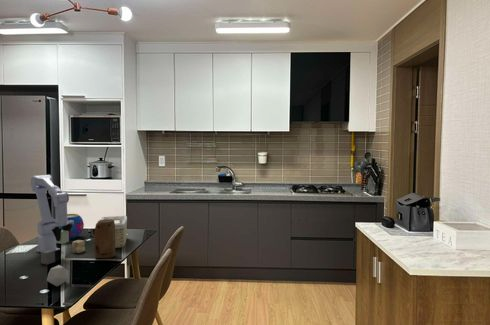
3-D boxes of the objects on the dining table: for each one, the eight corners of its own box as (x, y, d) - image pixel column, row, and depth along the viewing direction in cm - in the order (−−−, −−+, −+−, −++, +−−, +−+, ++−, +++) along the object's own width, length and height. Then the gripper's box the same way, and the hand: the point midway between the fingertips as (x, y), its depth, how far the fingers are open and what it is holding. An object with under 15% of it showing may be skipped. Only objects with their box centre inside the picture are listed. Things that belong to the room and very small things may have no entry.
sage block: (55, 242, 196) (55, 231, 196) (62, 240, 201) (62, 230, 200) (61, 243, 195) (61, 232, 194) (68, 241, 199) (68, 230, 199)
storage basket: (125, 248, 214) (124, 223, 213) (95, 250, 210) (95, 225, 209) (128, 237, 237) (127, 215, 236) (101, 239, 233) (101, 216, 232)
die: (58, 280, 166) (43, 267, 161) (74, 271, 166) (60, 257, 161) (55, 293, 159) (39, 280, 154) (72, 283, 159) (57, 270, 154)
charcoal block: (41, 263, 187) (40, 252, 187) (48, 260, 192) (48, 249, 191) (47, 264, 186) (47, 253, 185) (55, 261, 190) (54, 250, 189)
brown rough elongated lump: (116, 254, 202) (115, 218, 201) (114, 258, 195) (113, 221, 194) (95, 255, 200) (94, 219, 199) (93, 259, 193) (92, 222, 191)
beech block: (72, 252, 206) (72, 241, 206) (78, 250, 210) (78, 239, 210) (78, 253, 204) (78, 242, 204) (84, 250, 208) (84, 240, 208)
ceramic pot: (48, 239, 232) (47, 216, 231) (73, 233, 247) (73, 211, 246) (64, 243, 223) (63, 219, 222) (89, 237, 238) (89, 214, 237)
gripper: (55, 218, 189) (56, 243, 189) (77, 212, 202) (78, 236, 203) (45, 217, 191) (46, 242, 192) (68, 212, 205) (68, 235, 205)
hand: (62, 239), depth 198 cm, fingers closed on sage block, 4 cm apart
